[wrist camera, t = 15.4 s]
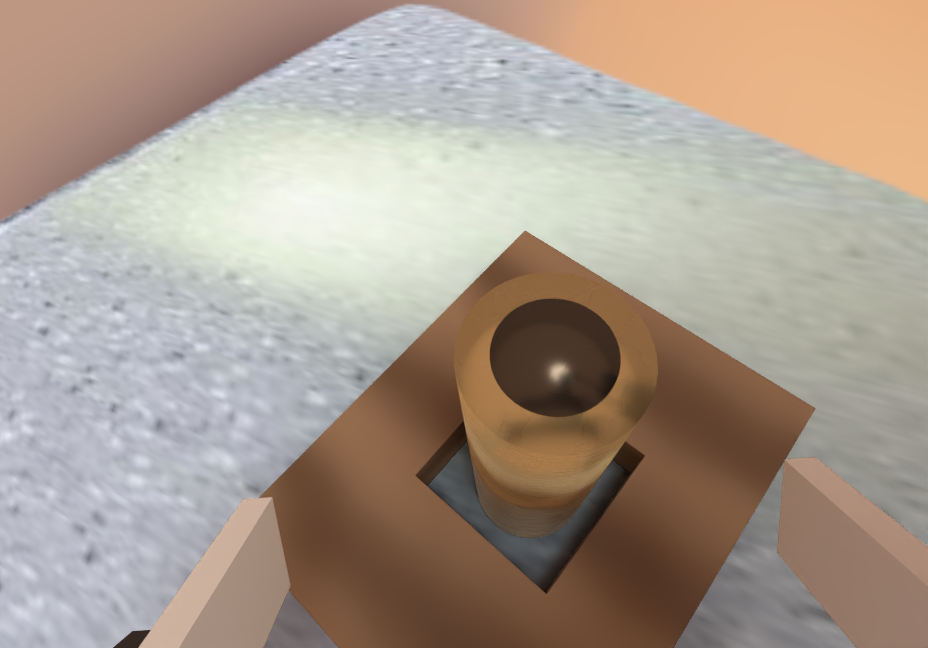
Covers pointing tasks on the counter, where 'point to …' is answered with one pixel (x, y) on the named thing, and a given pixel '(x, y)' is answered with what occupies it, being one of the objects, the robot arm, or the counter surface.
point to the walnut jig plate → (477, 561)
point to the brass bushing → (549, 394)
